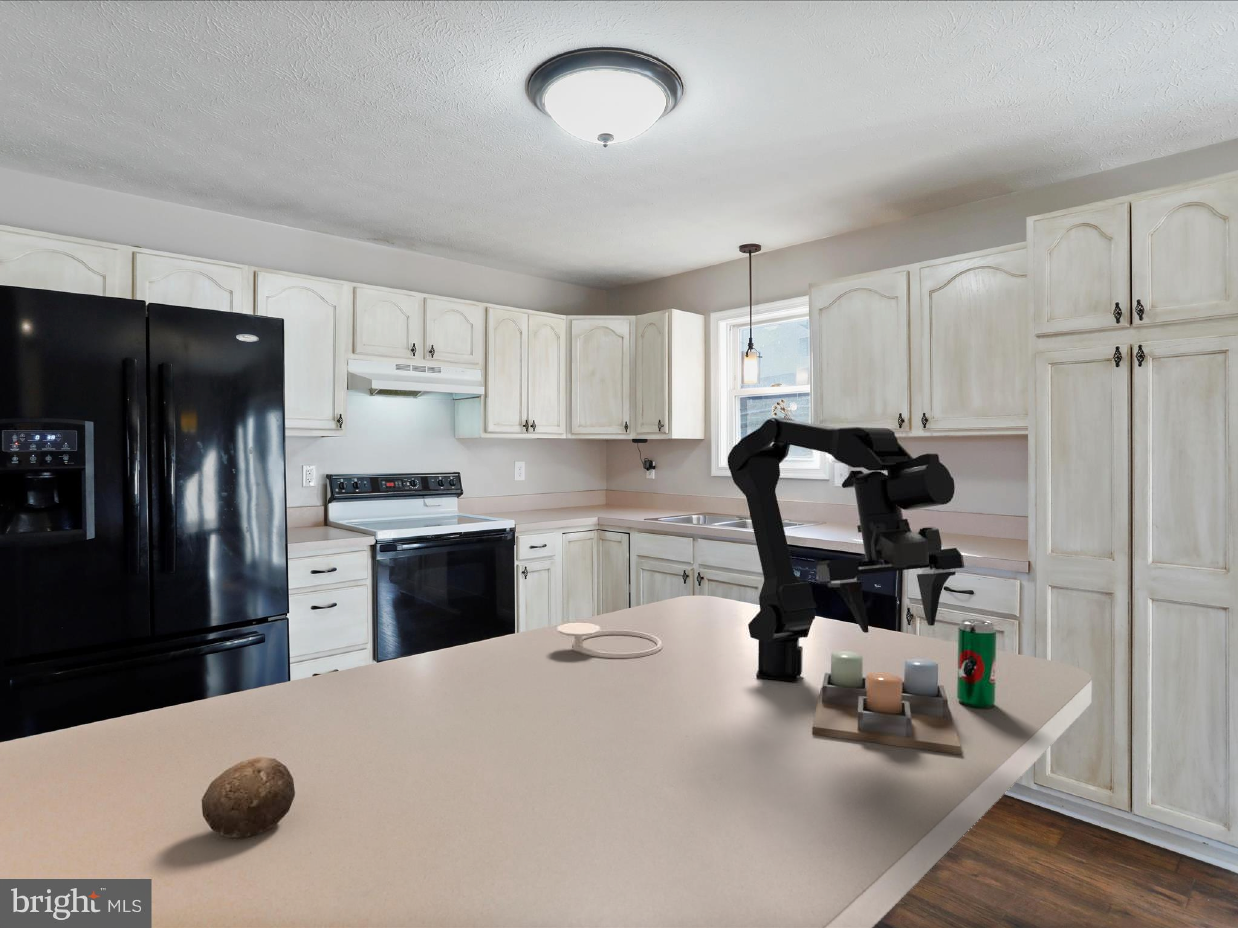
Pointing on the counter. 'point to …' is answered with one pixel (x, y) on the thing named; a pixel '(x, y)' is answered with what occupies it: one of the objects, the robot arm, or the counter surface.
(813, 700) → the counter surface
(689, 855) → the counter surface
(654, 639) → the hand towel holder
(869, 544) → the robot arm
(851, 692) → the walnut button board
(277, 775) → the brown speckled pebble
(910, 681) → the slate-blue button
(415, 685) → the counter surface
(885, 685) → the terracotta button
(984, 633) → the soda can
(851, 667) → the sage button
